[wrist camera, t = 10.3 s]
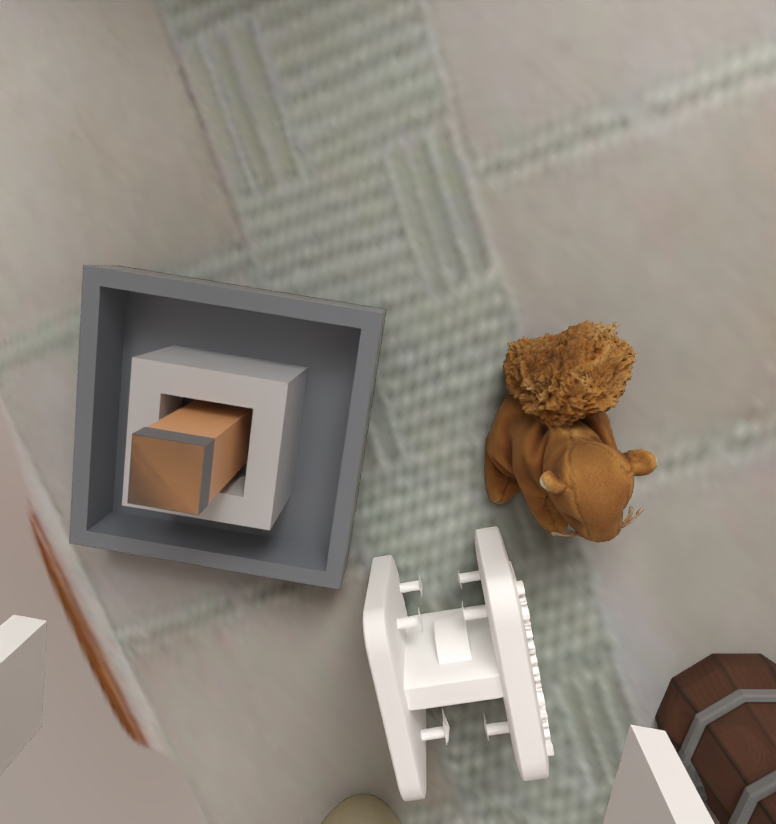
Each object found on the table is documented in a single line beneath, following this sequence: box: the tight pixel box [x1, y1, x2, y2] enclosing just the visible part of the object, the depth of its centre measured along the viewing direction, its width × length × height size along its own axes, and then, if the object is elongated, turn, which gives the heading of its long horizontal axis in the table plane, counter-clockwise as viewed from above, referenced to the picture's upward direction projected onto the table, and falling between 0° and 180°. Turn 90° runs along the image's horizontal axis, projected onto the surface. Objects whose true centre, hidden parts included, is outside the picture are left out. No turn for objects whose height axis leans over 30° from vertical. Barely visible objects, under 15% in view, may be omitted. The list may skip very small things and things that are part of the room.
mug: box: [656, 654, 776, 824], centre depth 45 cm, size 16×12×15 cm
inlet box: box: [69, 265, 386, 590], centre depth 45 cm, size 20×20×8 cm
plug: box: [127, 399, 252, 515], centre depth 40 cm, size 4×4×10 cm
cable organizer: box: [363, 526, 554, 801], centre depth 46 cm, size 15×11×12 cm
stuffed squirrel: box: [485, 320, 658, 542], centre depth 41 cm, size 10×14×13 cm
